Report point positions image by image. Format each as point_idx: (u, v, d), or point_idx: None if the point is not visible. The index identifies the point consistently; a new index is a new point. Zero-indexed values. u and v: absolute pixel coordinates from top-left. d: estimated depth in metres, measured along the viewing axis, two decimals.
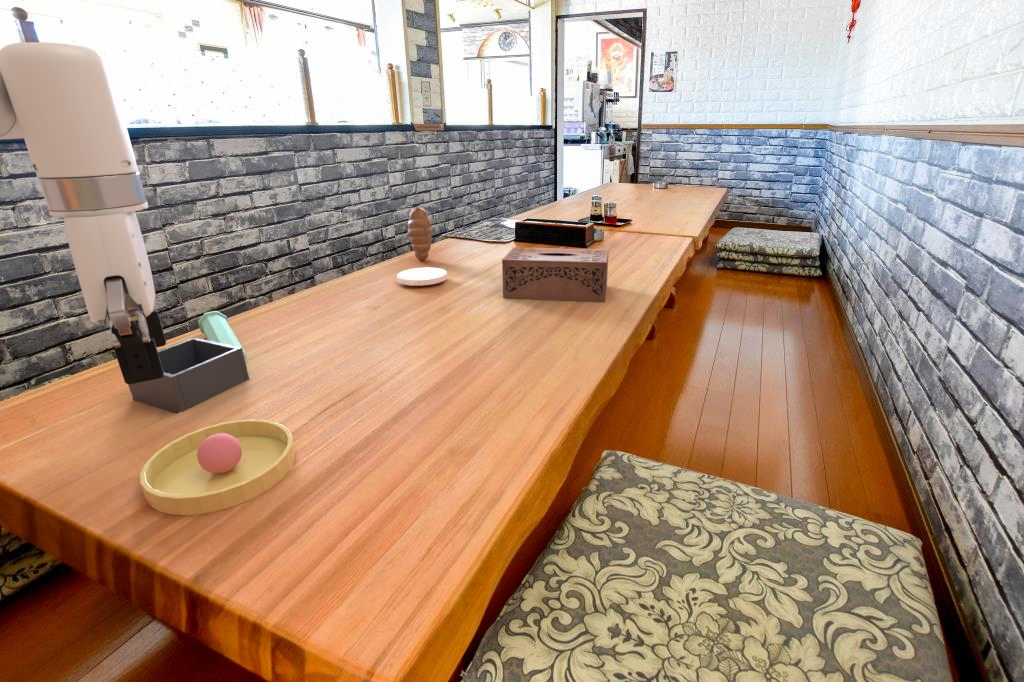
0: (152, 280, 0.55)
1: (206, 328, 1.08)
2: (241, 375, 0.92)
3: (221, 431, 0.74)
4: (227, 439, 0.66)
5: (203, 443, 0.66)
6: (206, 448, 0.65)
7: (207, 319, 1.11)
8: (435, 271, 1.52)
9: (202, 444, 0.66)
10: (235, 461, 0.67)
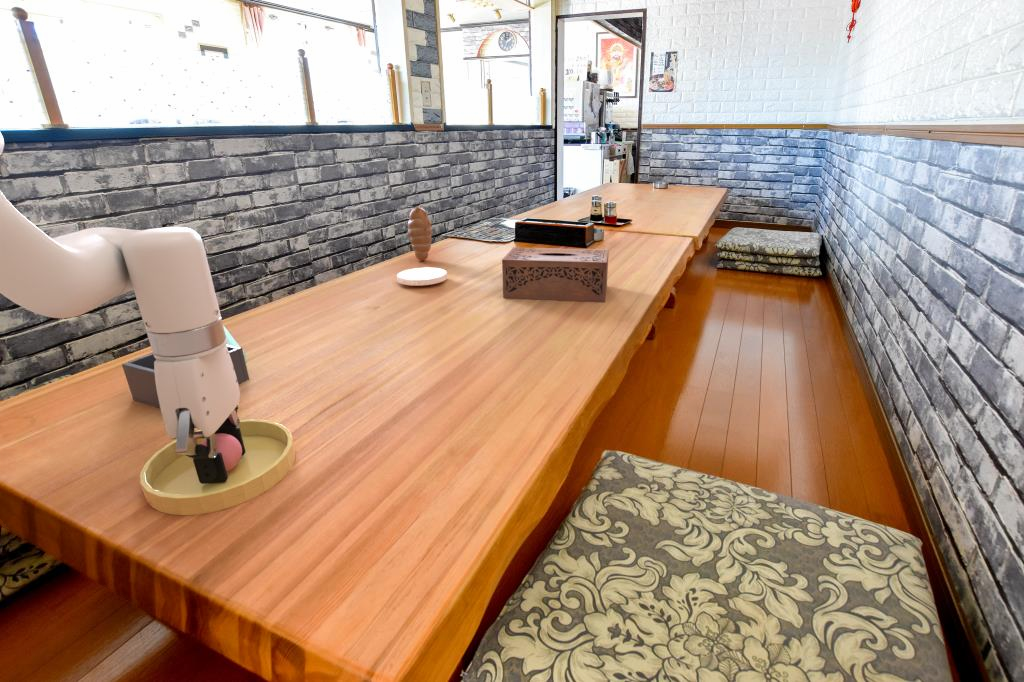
0: (229, 398, 0.66)
1: None
2: (241, 375, 0.92)
3: None
4: (227, 439, 0.66)
5: (203, 443, 0.66)
6: None
7: None
8: (435, 271, 1.52)
9: (202, 444, 0.66)
10: (235, 461, 0.67)
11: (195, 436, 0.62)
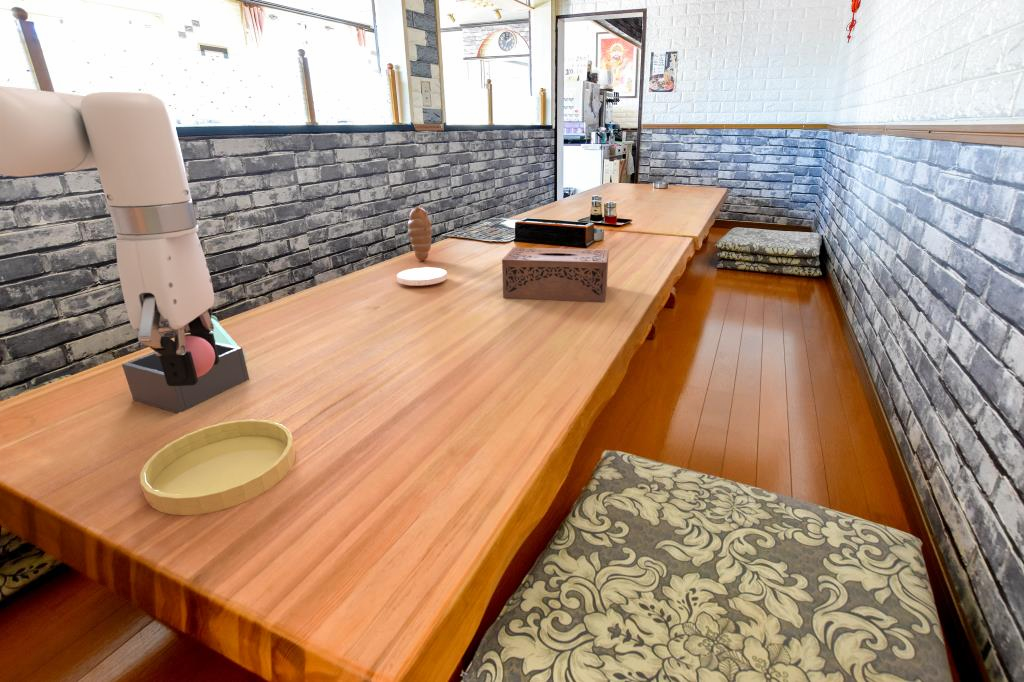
0: (201, 295, 0.61)
1: None
2: (241, 375, 0.92)
3: (221, 431, 0.74)
4: (198, 341, 0.62)
5: None
6: None
7: None
8: (435, 271, 1.52)
9: None
10: (207, 365, 0.62)
11: (162, 330, 0.57)
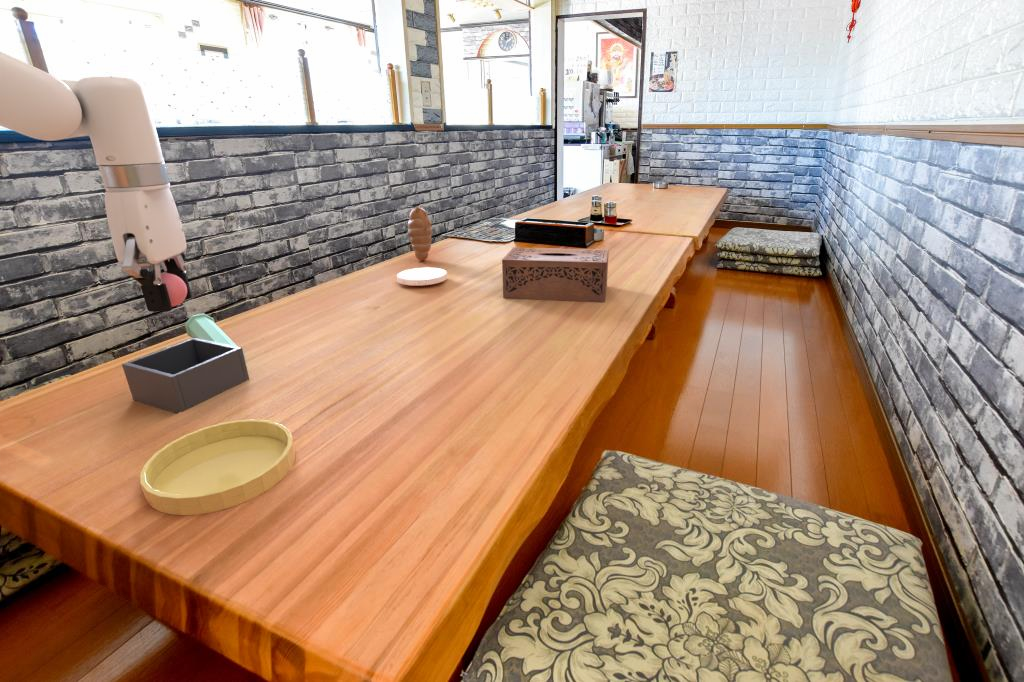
0: (174, 240, 0.77)
1: (196, 330, 1.07)
2: (241, 375, 0.92)
3: (221, 431, 0.74)
4: (172, 276, 0.78)
5: None
6: None
7: (195, 322, 1.10)
8: (435, 271, 1.52)
9: None
10: (180, 296, 0.78)
11: (142, 264, 0.73)
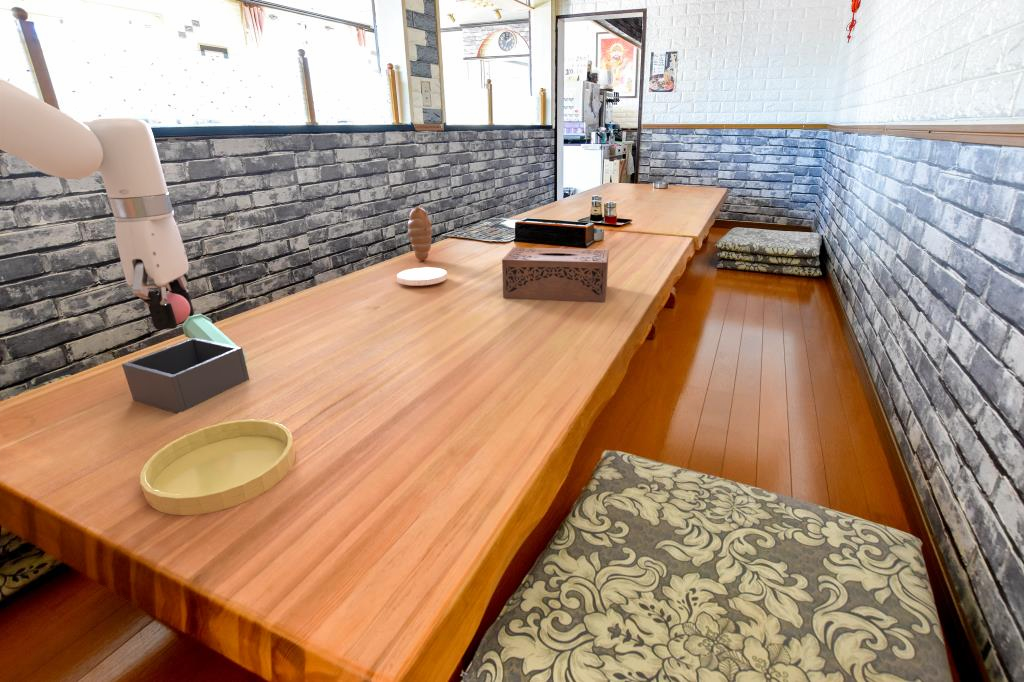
0: (178, 263, 0.84)
1: (194, 331, 1.07)
2: (241, 375, 0.92)
3: (221, 431, 0.74)
4: (177, 296, 0.84)
5: None
6: None
7: (193, 322, 1.09)
8: (435, 271, 1.52)
9: None
10: (184, 314, 0.85)
11: (149, 287, 0.80)
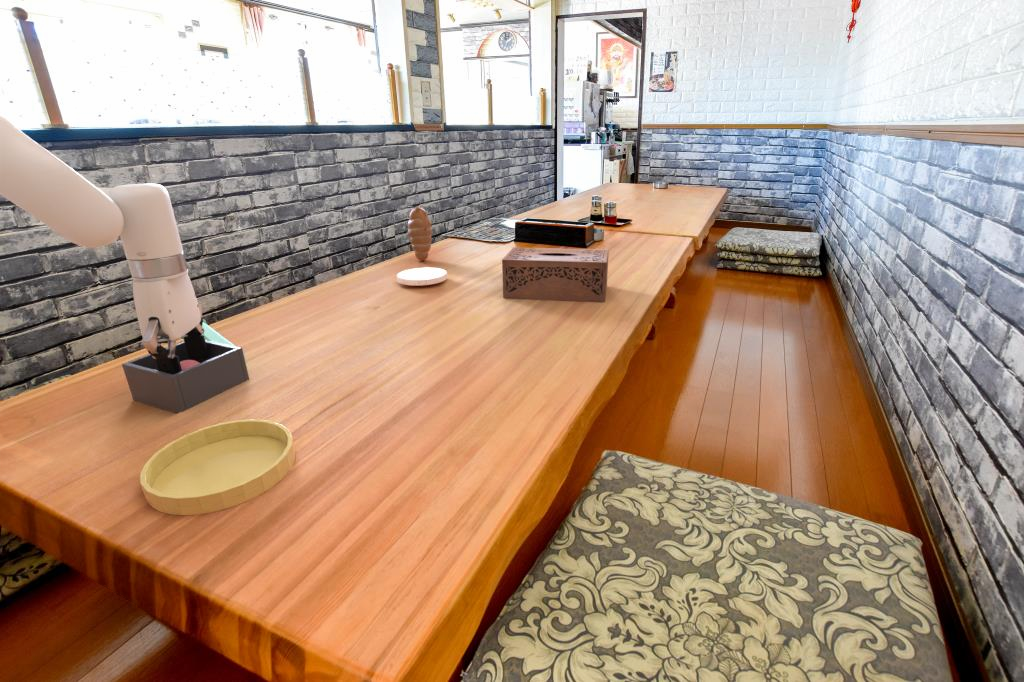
0: (191, 316, 0.87)
1: None
2: (241, 375, 0.92)
3: (221, 431, 0.74)
4: (194, 363, 0.89)
5: None
6: None
7: None
8: (435, 271, 1.52)
9: None
10: None
11: (160, 340, 0.82)
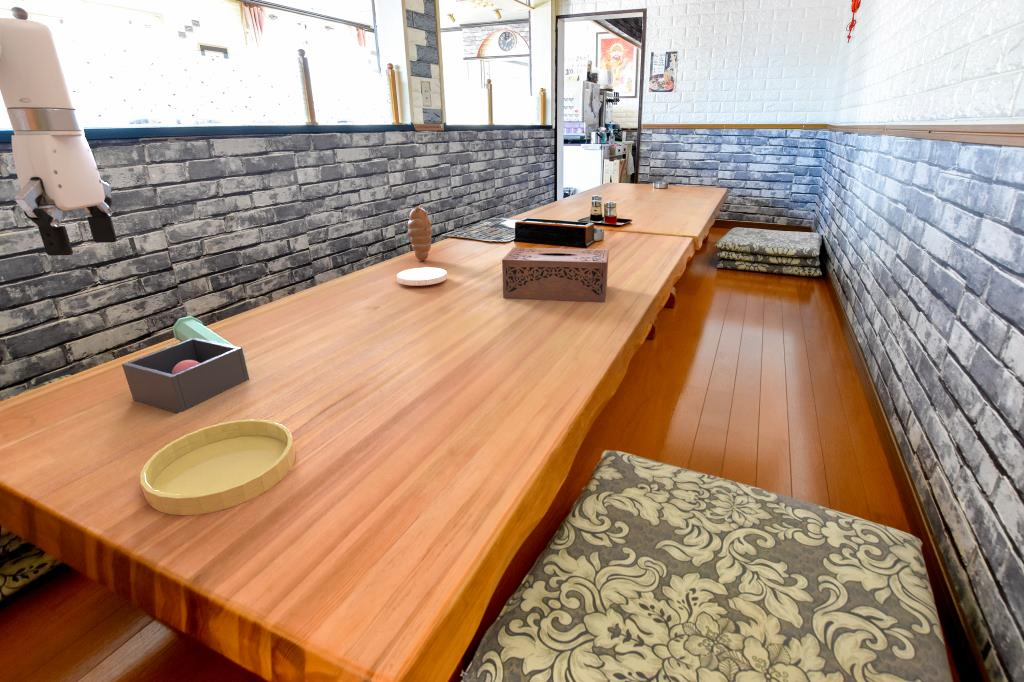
0: (89, 189, 0.77)
1: (187, 333, 1.06)
2: (241, 375, 0.92)
3: (221, 431, 0.74)
4: (194, 363, 0.89)
5: (176, 365, 0.88)
6: (178, 369, 0.87)
7: (184, 324, 1.08)
8: (435, 271, 1.52)
9: (175, 366, 0.88)
10: None
11: (44, 205, 0.72)
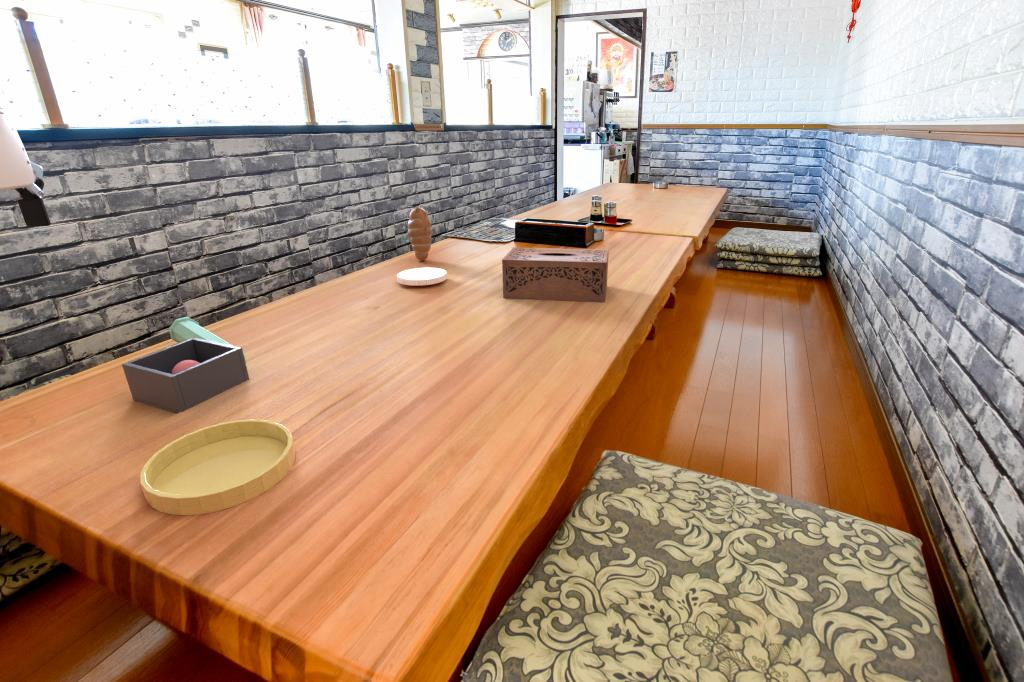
0: (15, 170, 0.74)
1: (184, 334, 1.06)
2: (241, 375, 0.92)
3: (221, 431, 0.74)
4: (194, 364, 0.89)
5: (176, 366, 0.88)
6: (178, 369, 0.87)
7: (181, 325, 1.08)
8: (435, 271, 1.52)
9: (175, 366, 0.88)
10: None
11: None
